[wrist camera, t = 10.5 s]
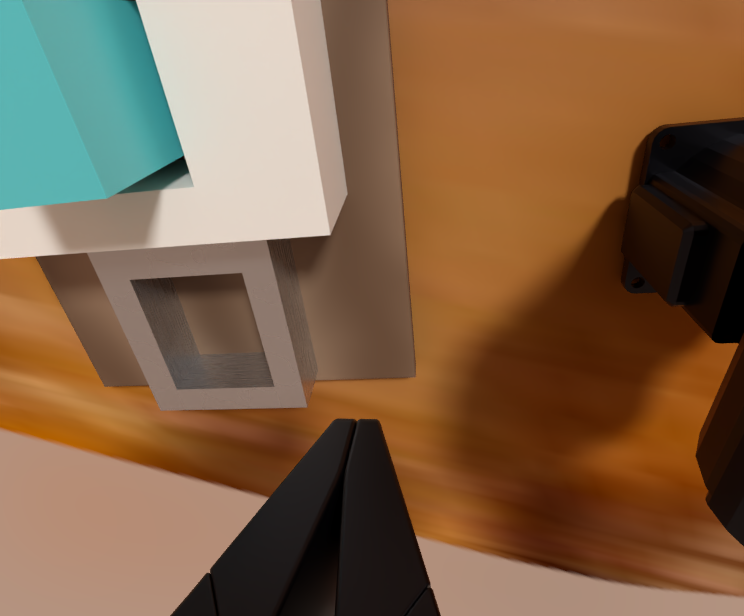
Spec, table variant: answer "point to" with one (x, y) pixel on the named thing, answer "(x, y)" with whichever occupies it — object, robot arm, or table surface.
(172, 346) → the holster
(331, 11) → the board
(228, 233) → the port box
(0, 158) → the plug
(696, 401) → the table surface
